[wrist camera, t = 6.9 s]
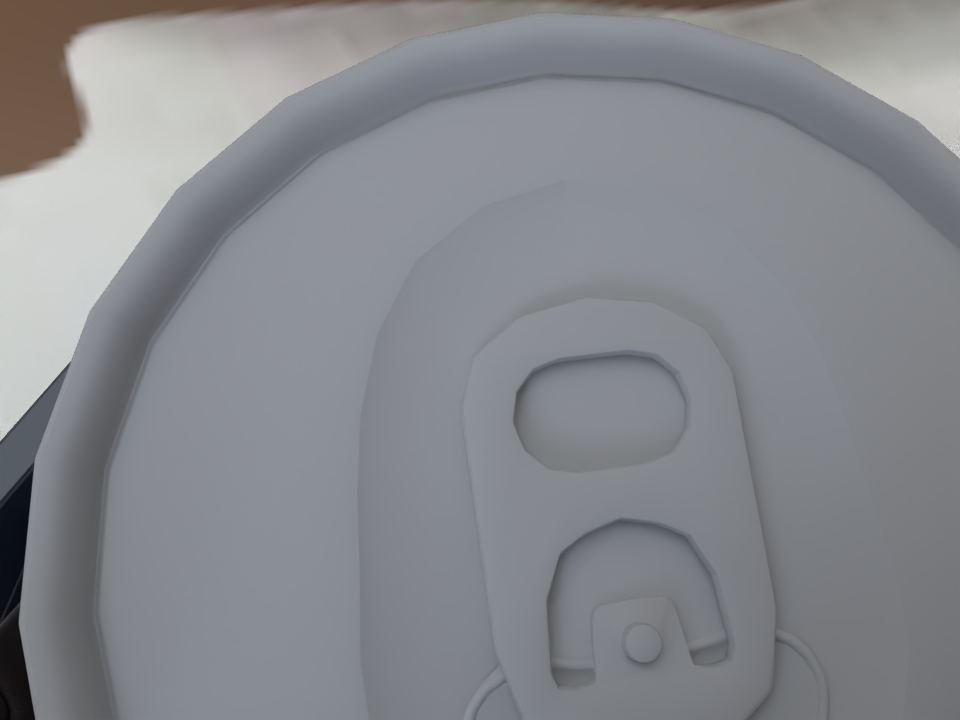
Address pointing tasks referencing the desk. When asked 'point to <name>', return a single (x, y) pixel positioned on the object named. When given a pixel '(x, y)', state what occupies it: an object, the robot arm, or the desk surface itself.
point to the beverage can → (522, 403)
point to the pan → (20, 491)
